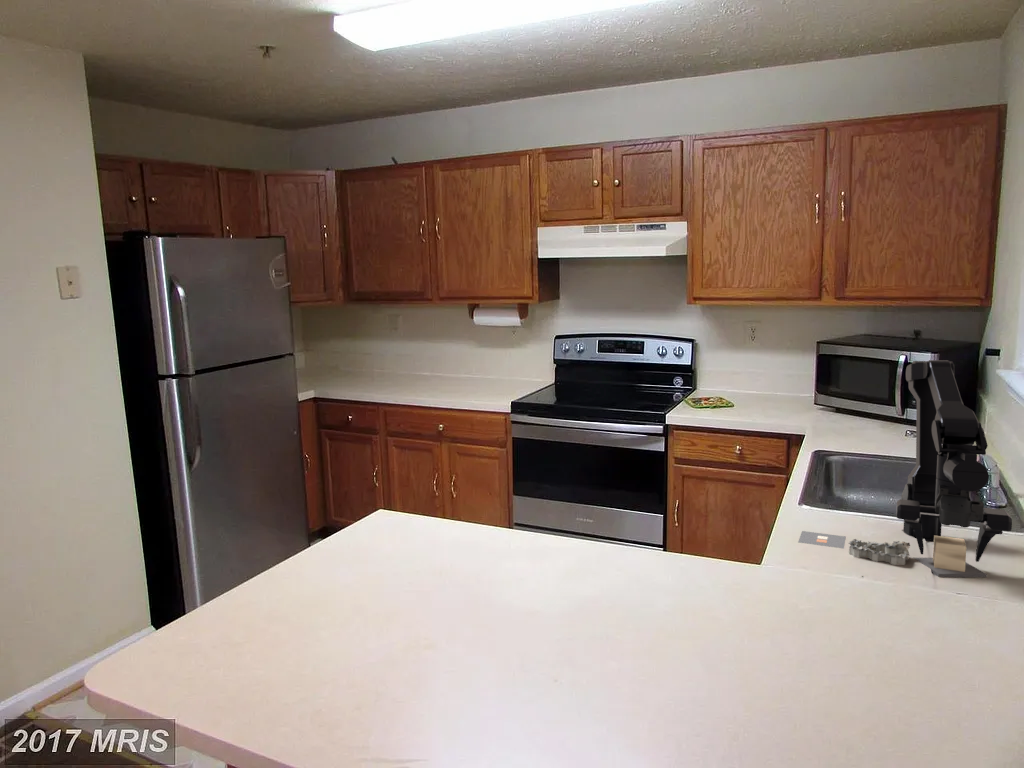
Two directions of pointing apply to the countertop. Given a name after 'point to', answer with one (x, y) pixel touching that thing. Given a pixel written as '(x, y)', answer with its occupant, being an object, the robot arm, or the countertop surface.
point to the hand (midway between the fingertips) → (949, 557)
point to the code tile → (822, 539)
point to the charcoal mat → (939, 572)
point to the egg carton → (881, 551)
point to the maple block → (949, 553)
